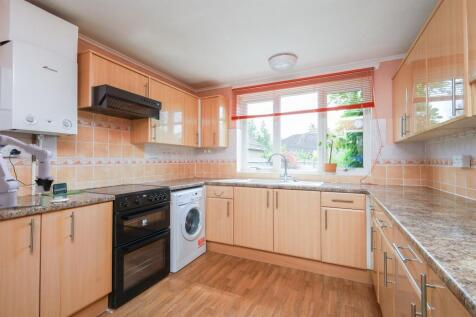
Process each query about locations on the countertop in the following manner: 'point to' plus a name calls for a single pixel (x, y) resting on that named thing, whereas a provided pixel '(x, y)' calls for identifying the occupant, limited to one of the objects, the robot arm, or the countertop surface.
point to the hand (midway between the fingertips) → (44, 190)
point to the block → (43, 201)
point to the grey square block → (42, 189)
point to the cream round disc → (58, 200)
